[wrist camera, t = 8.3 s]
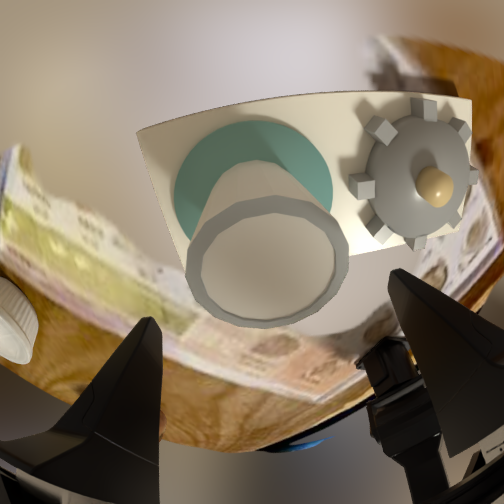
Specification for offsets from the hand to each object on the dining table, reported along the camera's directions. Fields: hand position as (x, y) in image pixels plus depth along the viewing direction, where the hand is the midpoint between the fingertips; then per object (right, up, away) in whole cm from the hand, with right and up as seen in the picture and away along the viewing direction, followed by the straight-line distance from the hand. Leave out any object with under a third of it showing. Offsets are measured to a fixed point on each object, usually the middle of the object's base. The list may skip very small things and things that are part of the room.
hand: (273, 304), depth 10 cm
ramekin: (-30, -4, +14) cm, 33 cm away
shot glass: (-1, +5, +7) cm, 9 cm away
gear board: (+5, +7, +9) cm, 12 cm away
